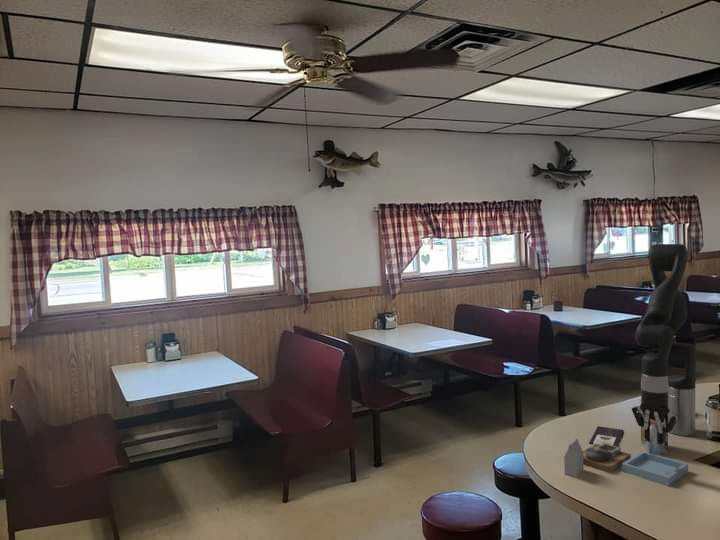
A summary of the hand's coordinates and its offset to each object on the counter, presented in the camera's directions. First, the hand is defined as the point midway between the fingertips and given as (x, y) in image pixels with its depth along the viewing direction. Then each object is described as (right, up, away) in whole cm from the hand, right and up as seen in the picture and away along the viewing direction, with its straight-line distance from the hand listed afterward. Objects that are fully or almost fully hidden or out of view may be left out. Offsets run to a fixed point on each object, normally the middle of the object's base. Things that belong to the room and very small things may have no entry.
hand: (654, 442), depth 173 cm
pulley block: (-12, -9, +10) cm, 18 cm away
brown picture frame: (-2, -8, +30) cm, 31 cm away
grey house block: (-24, -11, +3) cm, 27 cm away
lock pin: (0, -4, 0) cm, 4 cm away
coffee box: (+10, -8, +18) cm, 22 cm away
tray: (0, -10, +1) cm, 10 cm away
